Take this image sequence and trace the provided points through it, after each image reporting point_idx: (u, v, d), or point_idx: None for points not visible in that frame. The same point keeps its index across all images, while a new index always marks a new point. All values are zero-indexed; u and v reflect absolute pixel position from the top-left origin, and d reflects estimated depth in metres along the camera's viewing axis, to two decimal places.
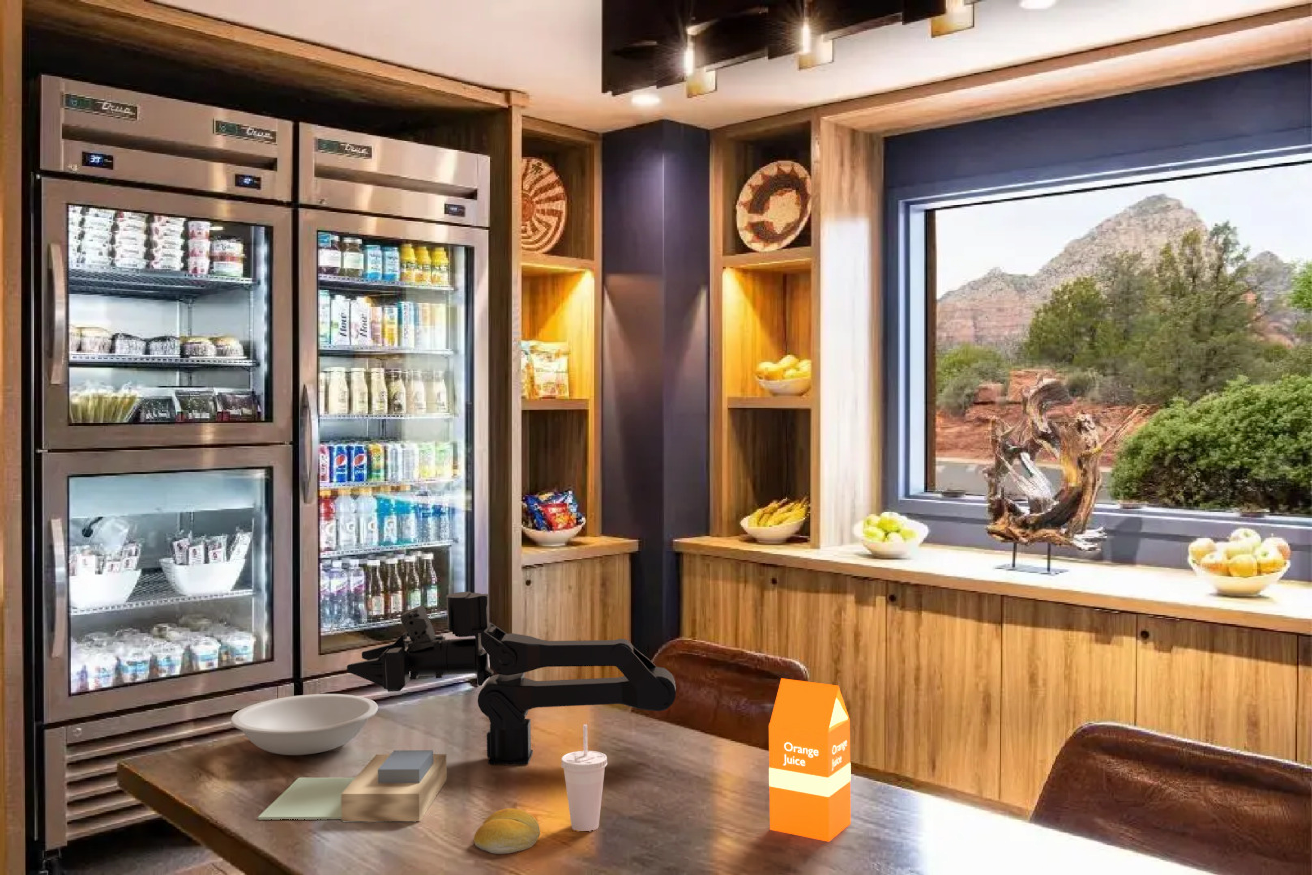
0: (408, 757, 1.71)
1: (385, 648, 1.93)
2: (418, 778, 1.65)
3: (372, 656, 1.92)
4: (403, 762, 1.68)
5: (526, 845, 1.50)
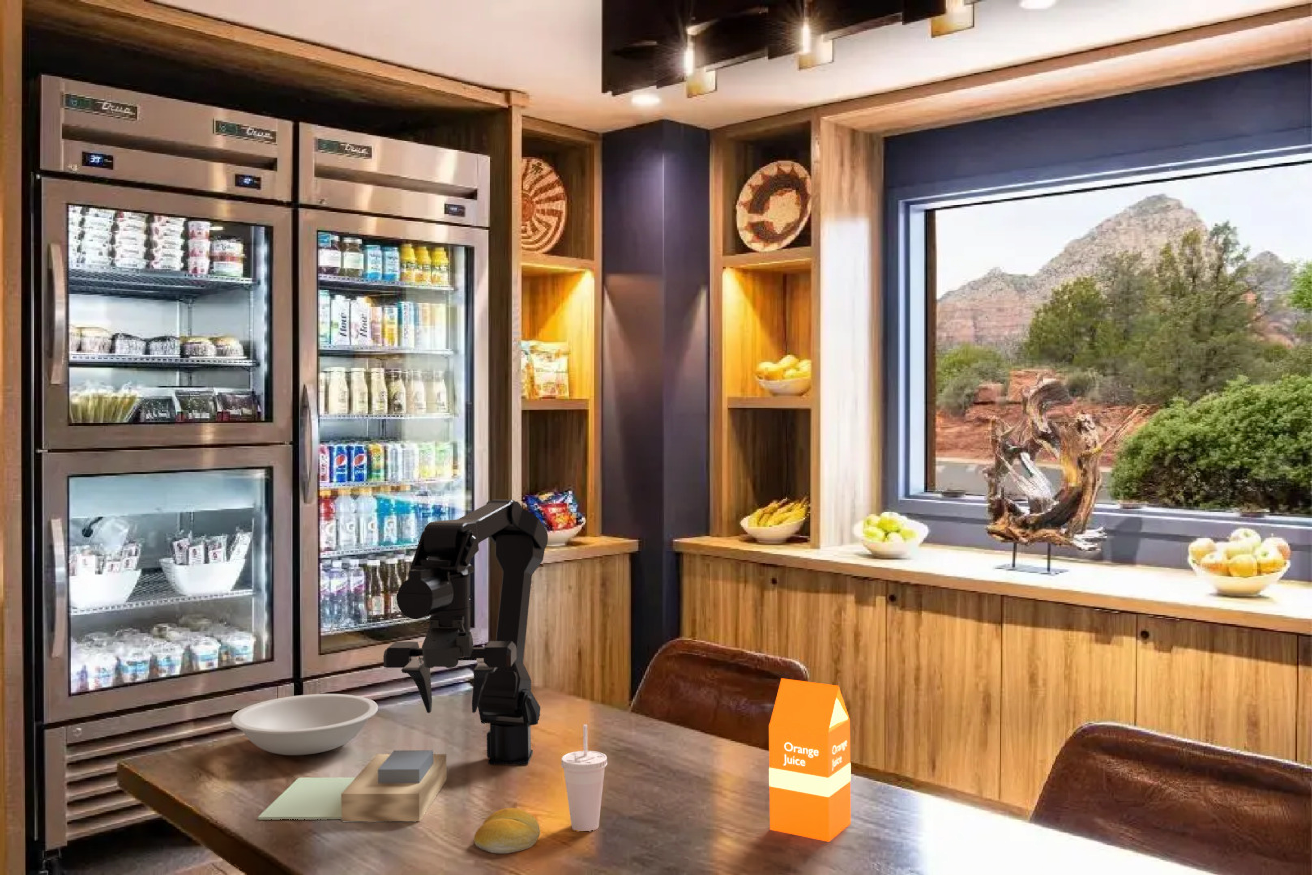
0: (408, 757, 1.71)
1: (426, 686, 1.68)
2: (418, 778, 1.65)
3: (430, 700, 1.70)
4: (403, 762, 1.68)
5: (526, 845, 1.50)
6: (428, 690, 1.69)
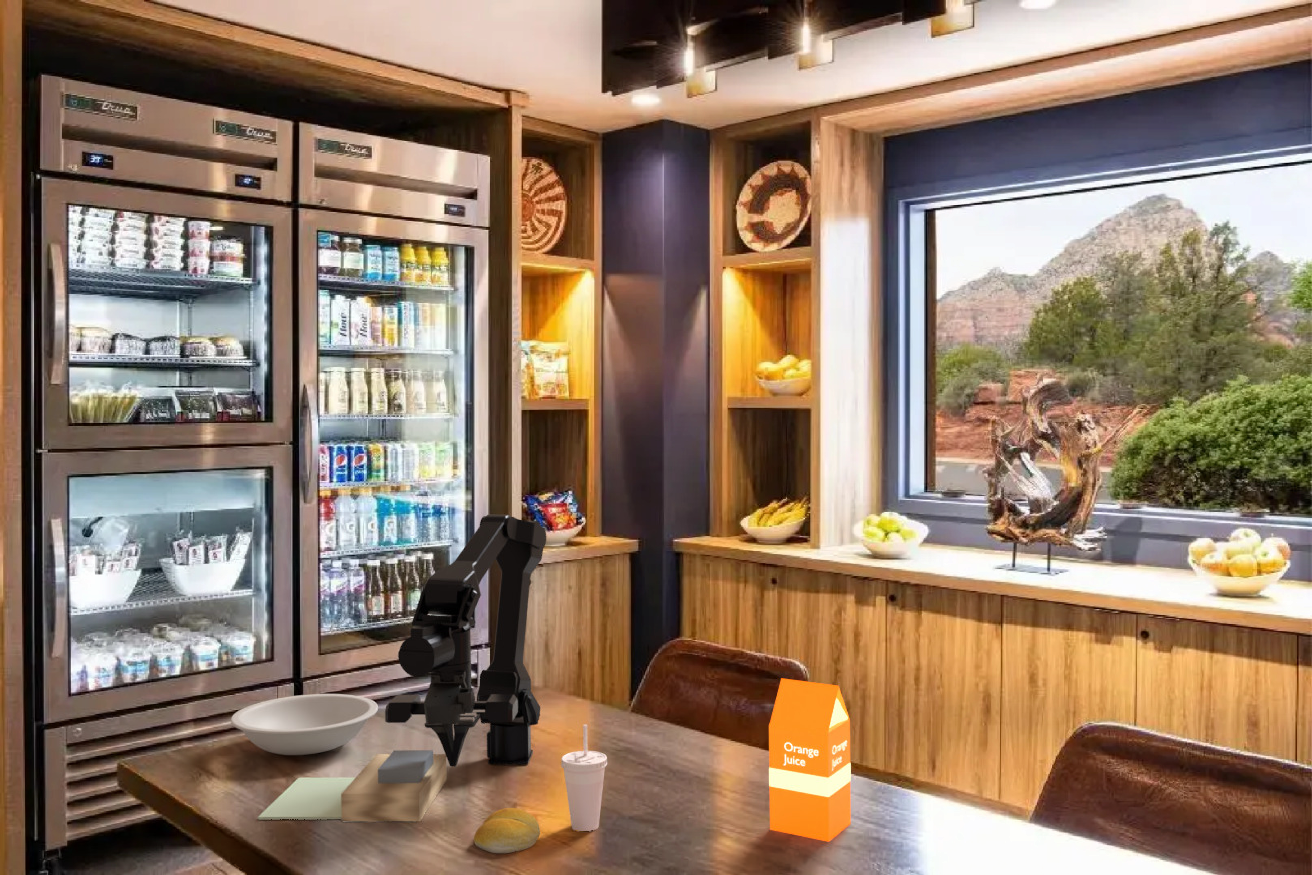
0: (408, 757, 1.71)
1: (449, 740, 1.69)
2: (418, 778, 1.65)
3: None
4: (403, 762, 1.68)
5: (526, 844, 1.50)
6: (451, 744, 1.69)
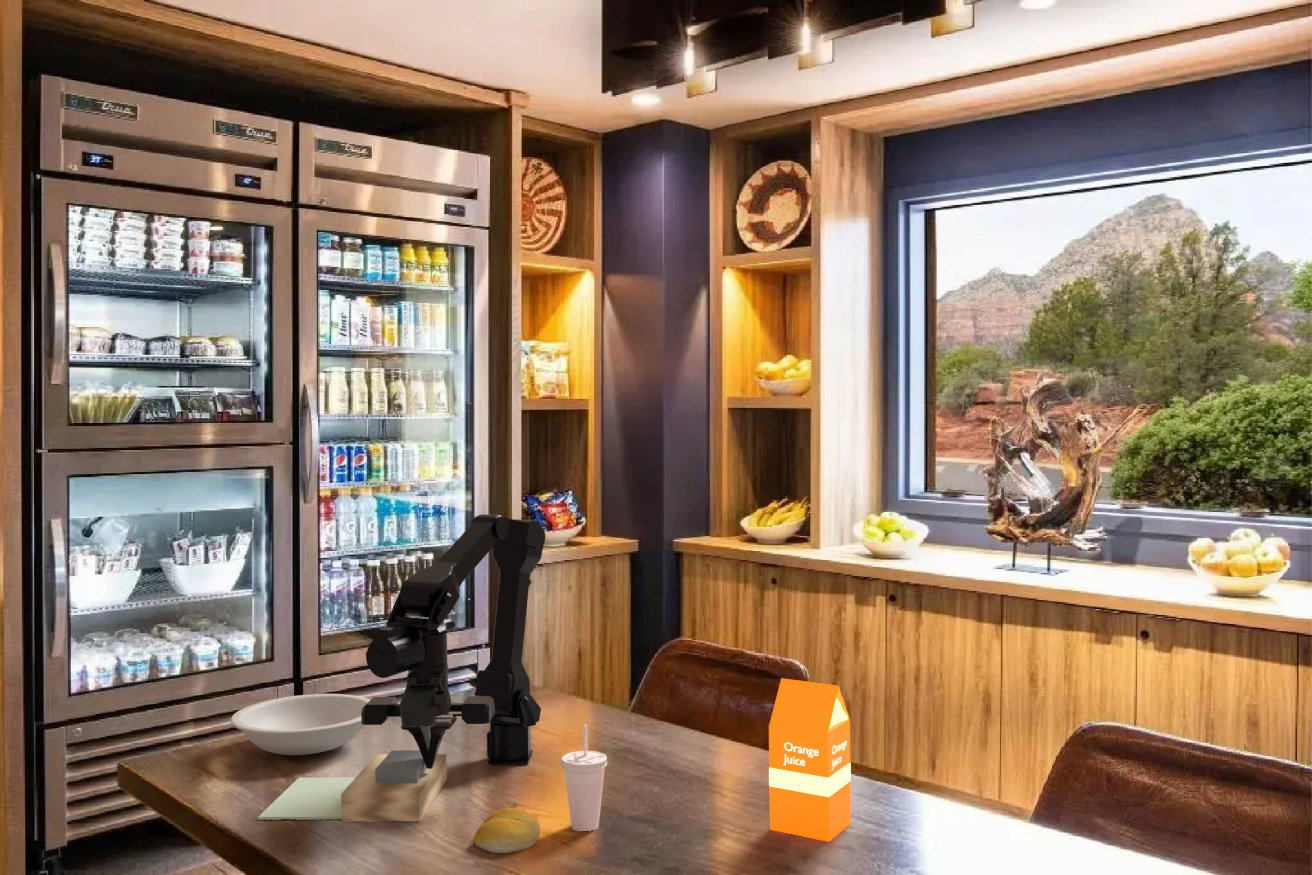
0: (405, 757, 1.71)
1: (425, 742, 1.69)
2: (415, 778, 1.65)
3: None
4: (400, 762, 1.68)
5: (526, 844, 1.50)
6: (427, 746, 1.69)
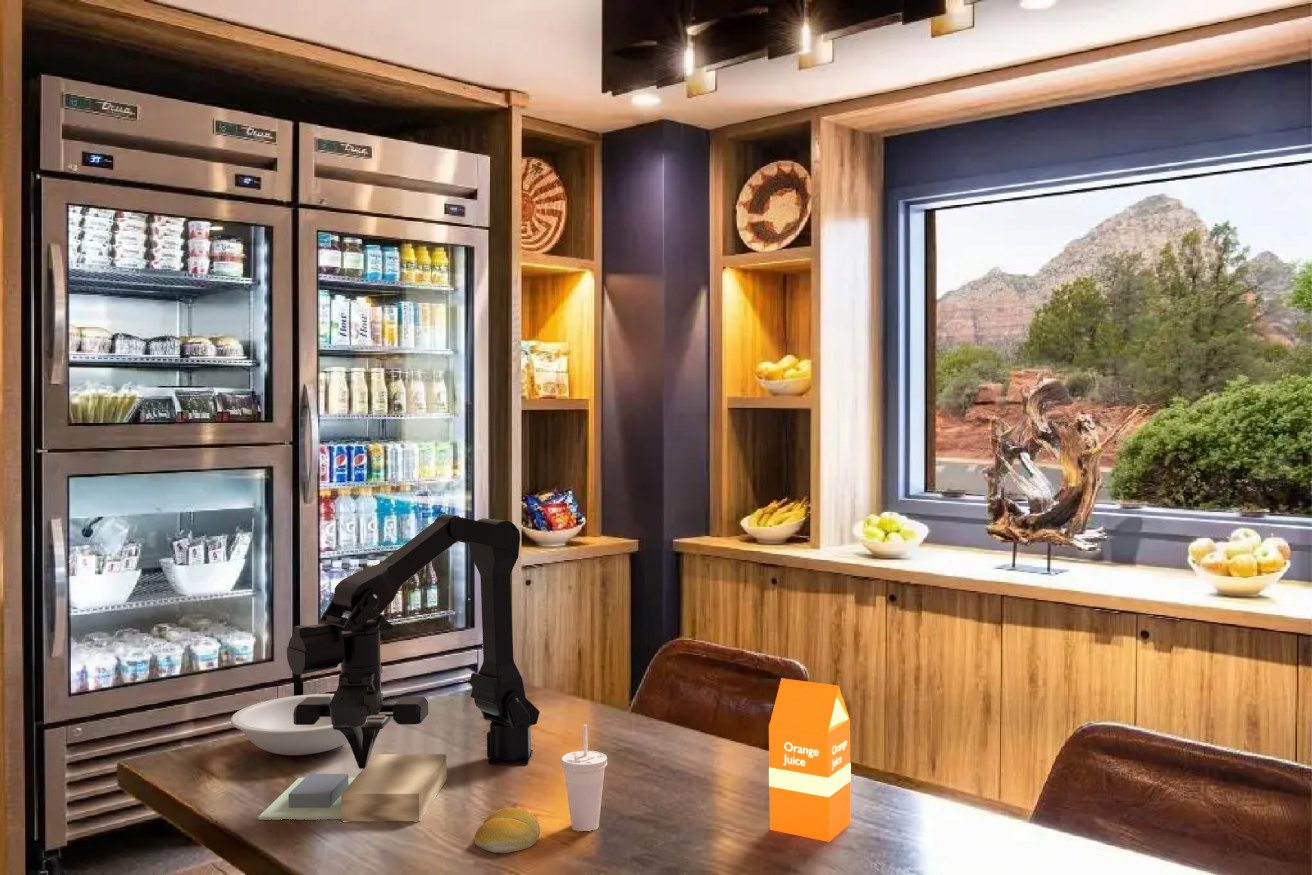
0: None
1: (358, 743, 1.69)
2: (289, 798, 1.66)
3: None
4: None
5: (526, 844, 1.50)
6: (360, 746, 1.70)
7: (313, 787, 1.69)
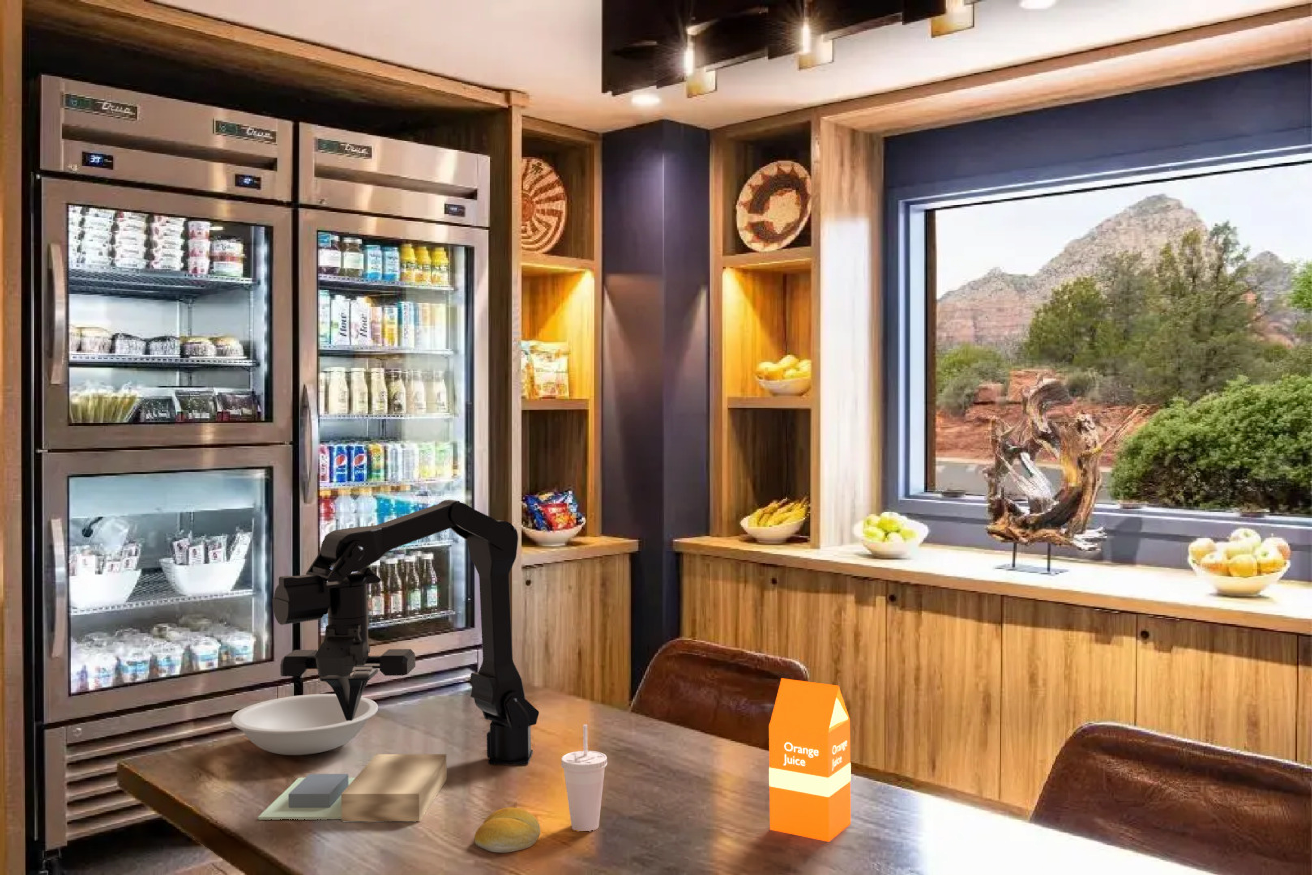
0: None
1: (345, 695, 1.69)
2: (289, 798, 1.66)
3: None
4: None
5: (526, 844, 1.50)
6: (347, 698, 1.70)
7: (313, 787, 1.69)
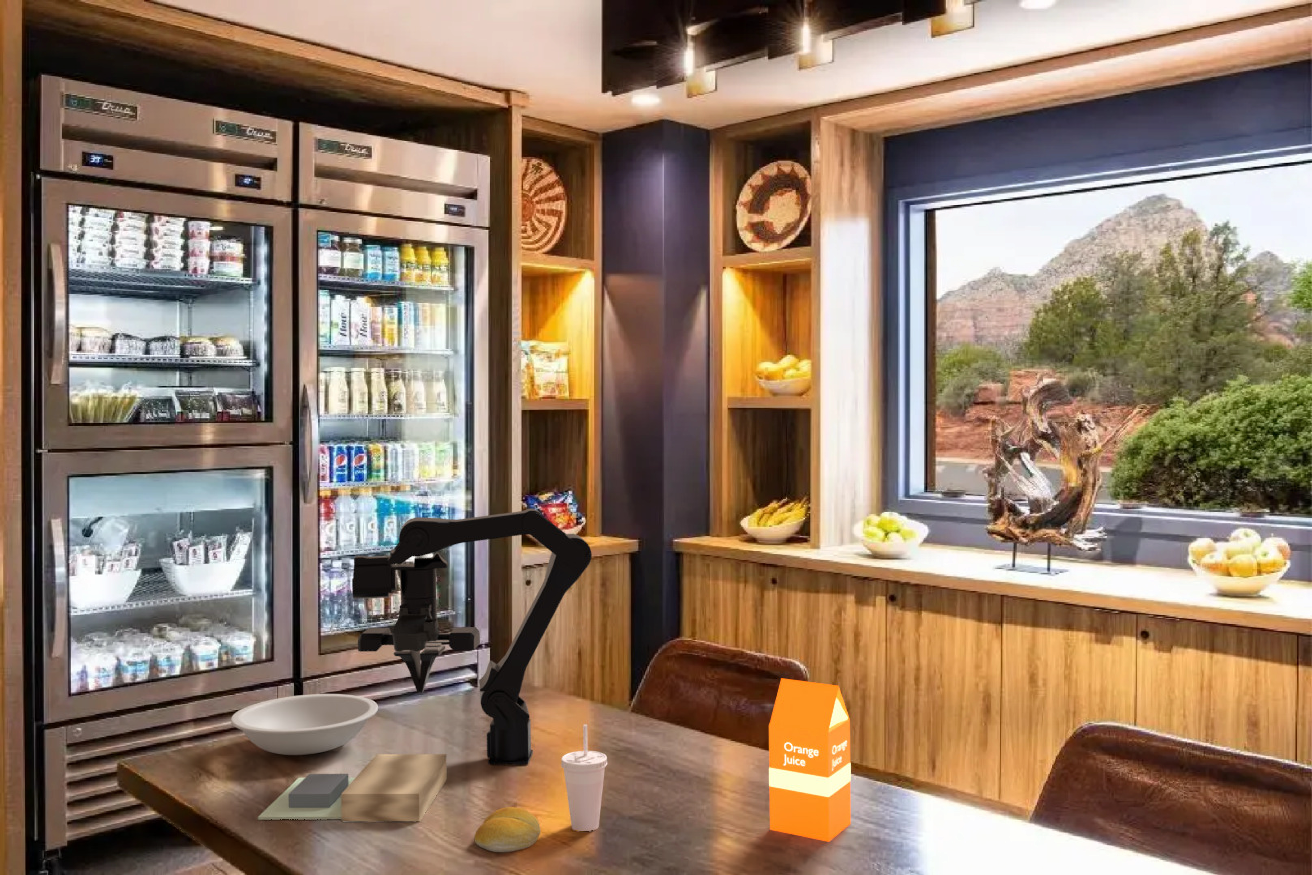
0: None
1: (416, 668, 1.84)
2: (289, 798, 1.66)
3: None
4: None
5: (527, 843, 1.51)
6: (418, 672, 1.85)
7: (313, 787, 1.69)
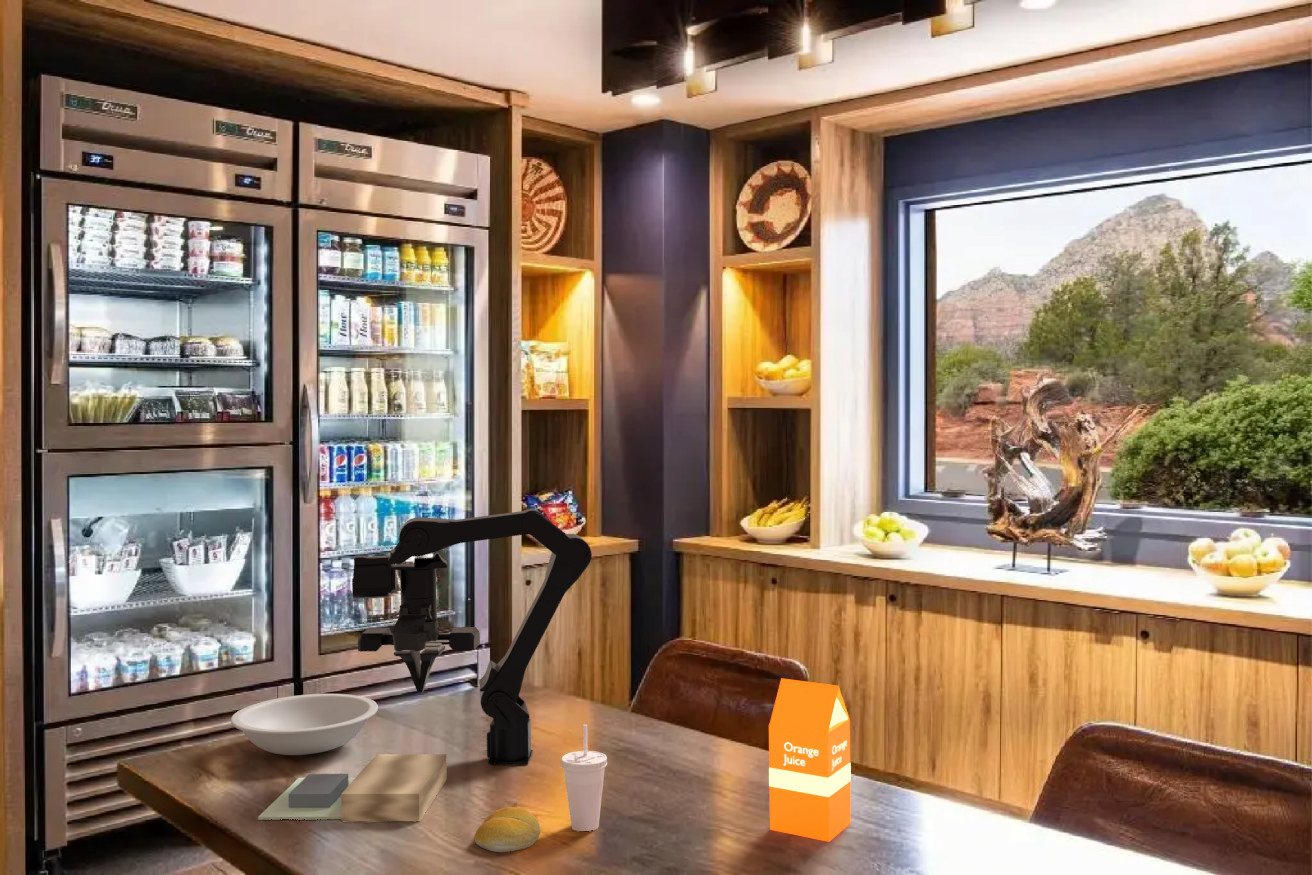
0: None
1: (416, 668, 1.84)
2: (289, 798, 1.66)
3: None
4: None
5: (527, 843, 1.51)
6: (418, 672, 1.85)
7: (313, 787, 1.69)
